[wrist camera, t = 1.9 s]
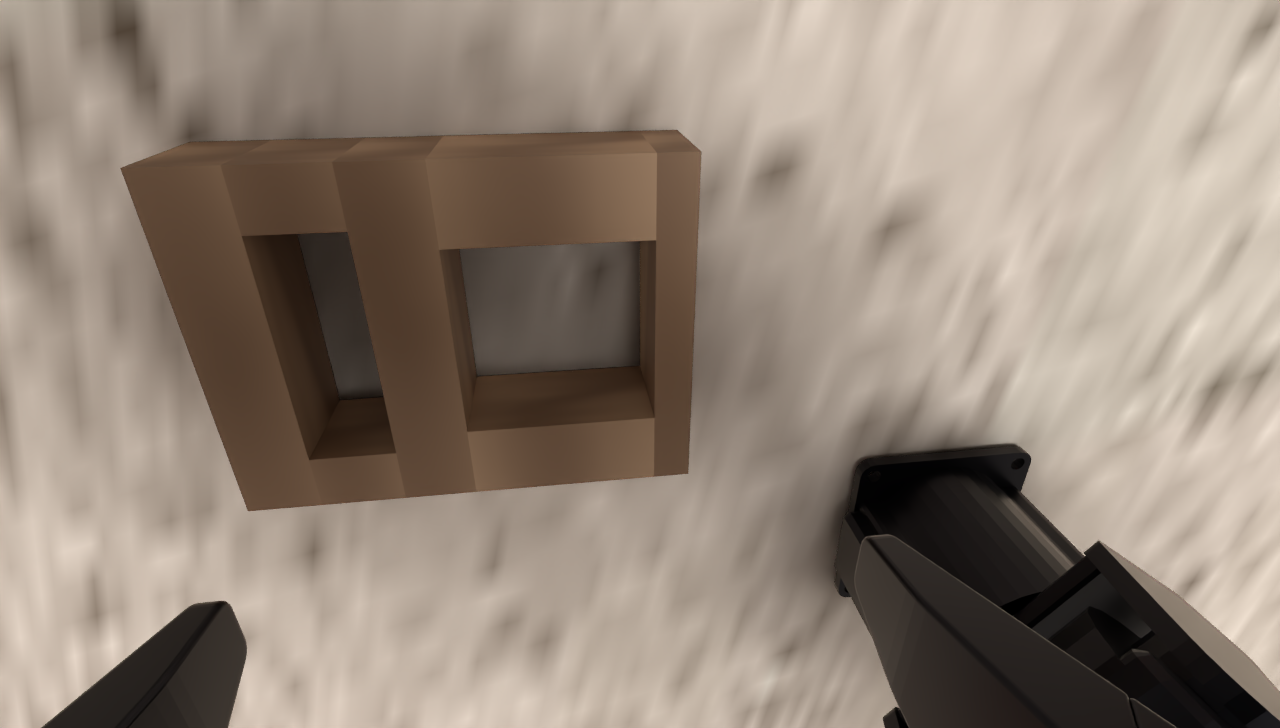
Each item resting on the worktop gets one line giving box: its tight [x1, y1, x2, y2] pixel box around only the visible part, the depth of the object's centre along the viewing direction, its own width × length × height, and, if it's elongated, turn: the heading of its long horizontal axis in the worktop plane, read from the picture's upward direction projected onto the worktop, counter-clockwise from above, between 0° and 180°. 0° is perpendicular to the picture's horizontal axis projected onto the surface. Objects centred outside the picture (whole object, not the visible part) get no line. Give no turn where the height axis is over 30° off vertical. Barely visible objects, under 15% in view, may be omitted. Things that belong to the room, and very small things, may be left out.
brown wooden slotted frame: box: [121, 130, 701, 511], centre depth 17 cm, size 12×9×3 cm
